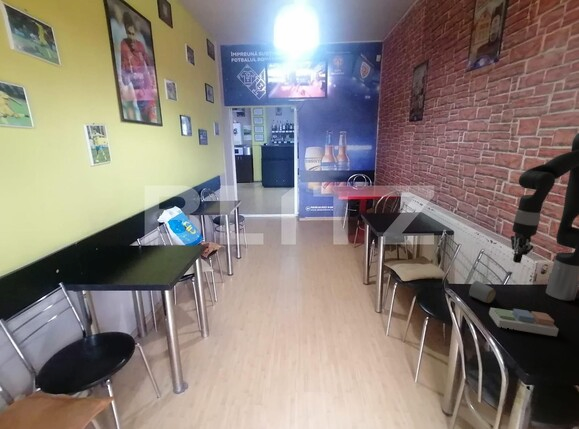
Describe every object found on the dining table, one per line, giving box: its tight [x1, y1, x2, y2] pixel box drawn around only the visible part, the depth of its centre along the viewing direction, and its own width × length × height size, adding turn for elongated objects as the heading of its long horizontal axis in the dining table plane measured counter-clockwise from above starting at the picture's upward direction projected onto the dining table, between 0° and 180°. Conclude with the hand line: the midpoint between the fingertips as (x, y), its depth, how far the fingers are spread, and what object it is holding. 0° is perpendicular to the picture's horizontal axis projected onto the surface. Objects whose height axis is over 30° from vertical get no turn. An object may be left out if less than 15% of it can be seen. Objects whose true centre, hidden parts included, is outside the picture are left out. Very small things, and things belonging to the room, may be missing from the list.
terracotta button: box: [530, 311, 555, 326], centre depth 111 cm, size 5×5×3 cm
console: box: [488, 307, 560, 337], centre depth 113 cm, size 19×9×3 cm, turn 75°
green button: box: [494, 307, 515, 320], centre depth 114 cm, size 5×5×3 cm
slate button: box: [512, 308, 535, 323], centre depth 112 cm, size 5×5×3 cm
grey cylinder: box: [468, 280, 496, 304], centre depth 130 cm, size 11×8×8 cm
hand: (516, 261), depth 119 cm, fingers closed
